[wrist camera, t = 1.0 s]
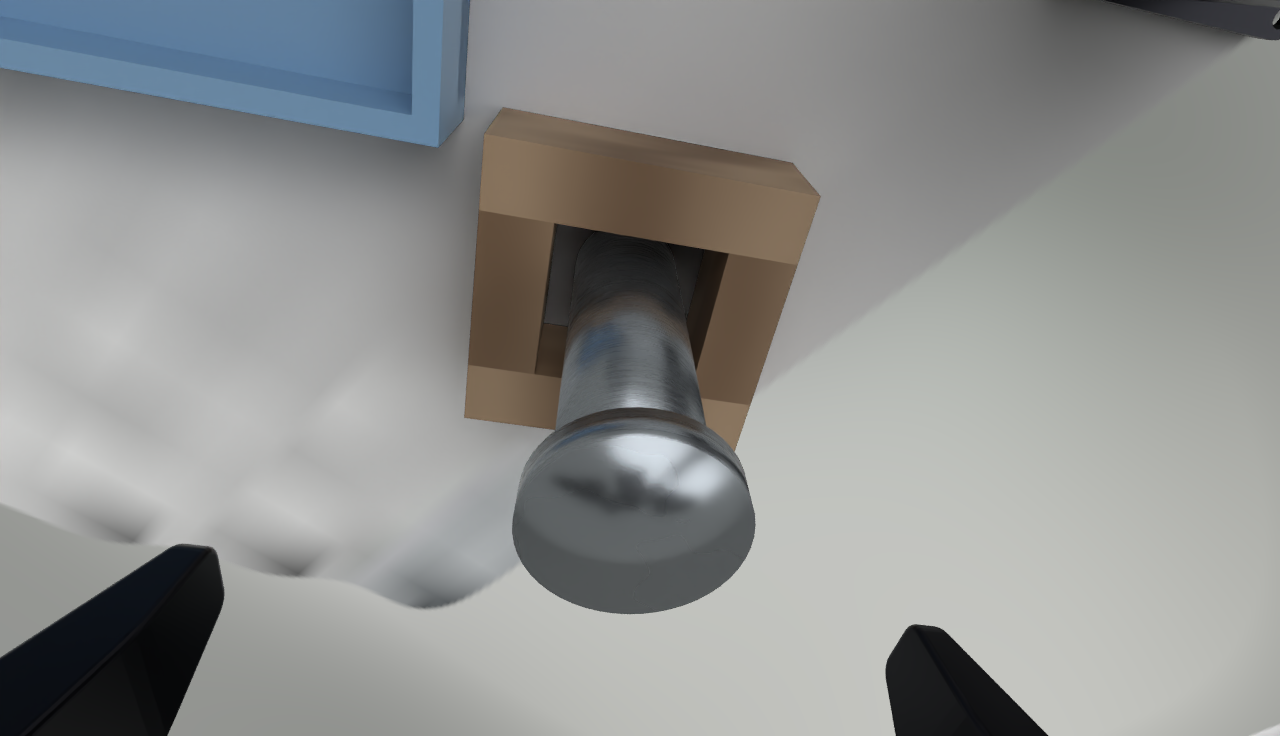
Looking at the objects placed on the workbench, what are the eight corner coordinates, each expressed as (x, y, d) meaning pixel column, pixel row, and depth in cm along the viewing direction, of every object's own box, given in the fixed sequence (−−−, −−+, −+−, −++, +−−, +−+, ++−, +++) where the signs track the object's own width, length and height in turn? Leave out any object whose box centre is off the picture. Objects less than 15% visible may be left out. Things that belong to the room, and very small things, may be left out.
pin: (705, 218, 20) (786, 456, 10) (675, 337, 22) (720, 623, 12) (568, 194, 19) (525, 421, 10) (551, 318, 21) (502, 602, 12)
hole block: (792, 163, 19) (820, 196, 16) (720, 397, 23) (733, 453, 20) (503, 107, 18) (484, 133, 15) (481, 363, 22) (464, 417, 19)
